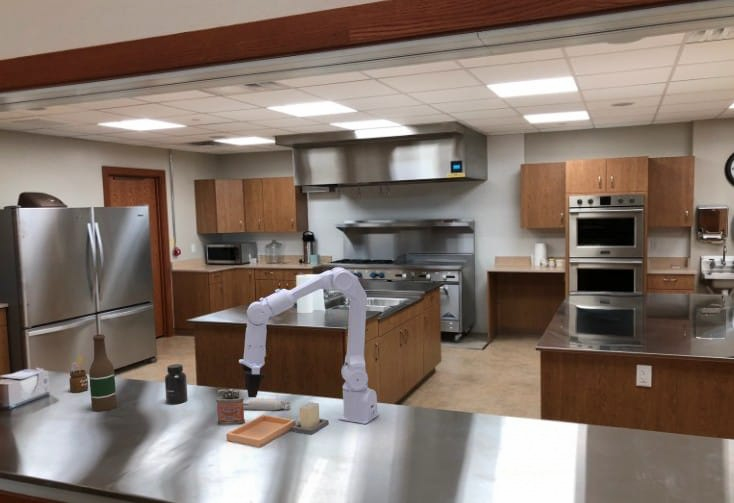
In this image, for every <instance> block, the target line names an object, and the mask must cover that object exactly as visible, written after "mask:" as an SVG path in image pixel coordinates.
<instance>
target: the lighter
mask: <svg viewBox="0 0 734 503" xmlns="http://www.w3.org/2000/svg"><path fill="white" fill-rule="evenodd" d="M217 393H218V394H217V395H218V397H216V399H215V402H216V406H217V407H216V408H217V425H220V426H238V425H240V426H241V425H244V424H246V418H245V412H244V411H245V410H244V409H243V403H244V396H239V394H240V391H239V389H235V390H234V389H233V388H229V389H228V390H227V389H219V390H217Z"/></svg>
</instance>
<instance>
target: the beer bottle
mask: <svg viewBox="0 0 734 503" xmlns="http://www.w3.org/2000/svg"><path fill="white" fill-rule="evenodd" d="M105 339H106V336H105V334H102V333H99V334H95V335H93V336H92V340H93V361H92V362H91V365H90V369H89V372H88V373H89V376H88V377H89V378H88V380H89V388H90V389H89V390H90V398H91V402H90V403H91V409H92V411H93V412H105V411H106V412H107V411H110V410H113V409H115V408H116V407H117V391H116V388H117V387H116V378H115V369H114V368H115V367H114V365H113V364H112V362H111V361H110V359H109V358H108V355H107V349H106V343H105Z"/></svg>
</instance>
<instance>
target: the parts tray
mask: <svg viewBox="0 0 734 503" xmlns="http://www.w3.org/2000/svg"><path fill="white" fill-rule="evenodd" d="M296 424H297V423H296V420H295V419H291V418H285V417H280V416H279V417H278V416H275V415H274V416H273V415H268V414H261V415H259V416H258V417H256V418H254V419H252V420H249V421H248V422H245V423H244V424H241V425H240V426H239V427H236V428H235V429H233V430H230V431H229V432H226V434H225V436H226V442H231V443H236V444H240V445H245V446H251V447H255V448H262V447H264V446H266V445H268V444H270V443H271V442H273V441H274V440H276V439H278V438H279V437H281V436H283V435H284V434H286V433H289V432H290V431H292V427H293V426H294V425H296Z"/></svg>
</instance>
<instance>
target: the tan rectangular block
mask: <svg viewBox="0 0 734 503" xmlns="http://www.w3.org/2000/svg"><path fill="white" fill-rule="evenodd" d="M319 404H320V403H318V402H315V401H314V402H312V401H309V402H307V403H305V404H303V405H302V406H300V407H299V420H300V421H299V423H301V428H307V429H311V428H313V427H315V426H316V425H318V424H320V419H321V418H320V405H319Z"/></svg>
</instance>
